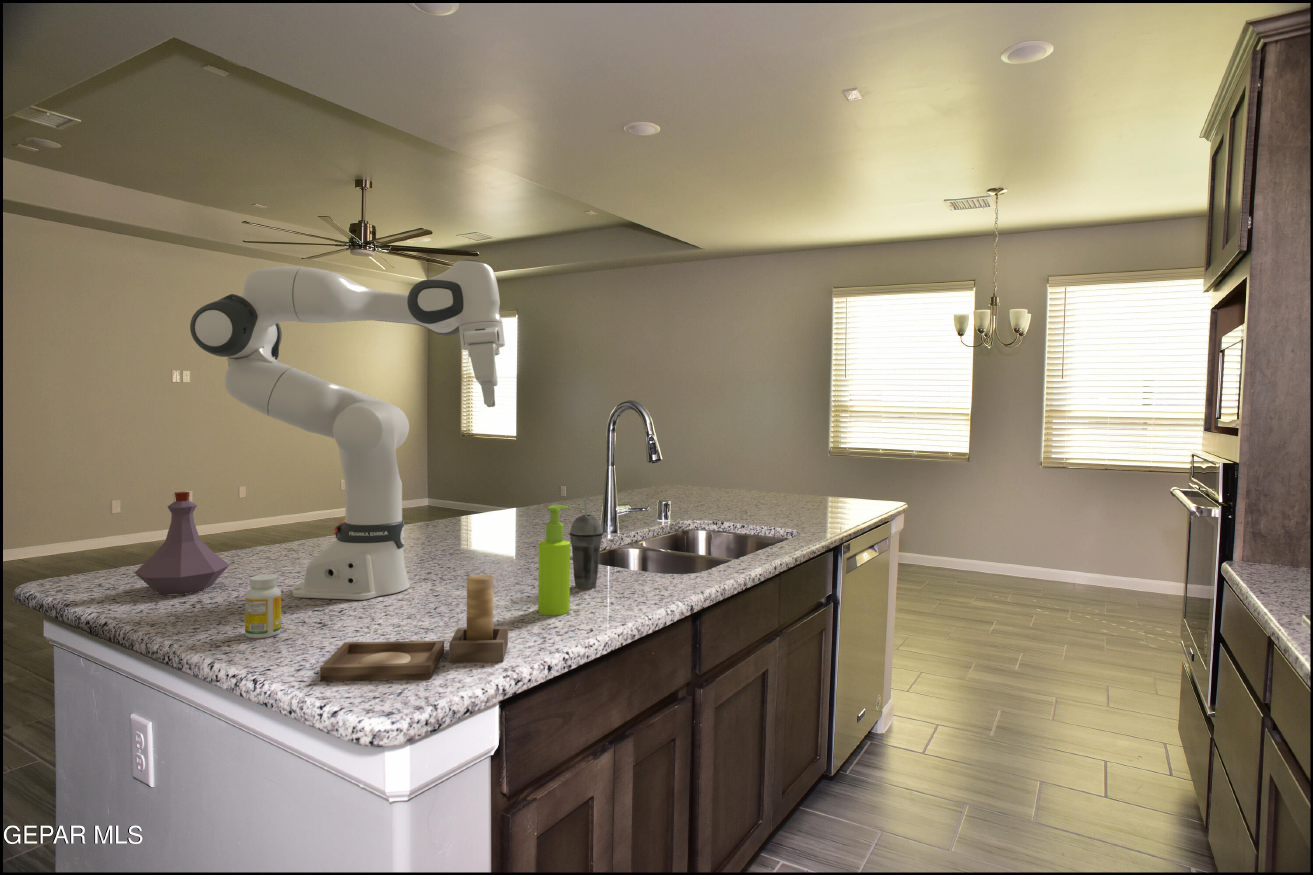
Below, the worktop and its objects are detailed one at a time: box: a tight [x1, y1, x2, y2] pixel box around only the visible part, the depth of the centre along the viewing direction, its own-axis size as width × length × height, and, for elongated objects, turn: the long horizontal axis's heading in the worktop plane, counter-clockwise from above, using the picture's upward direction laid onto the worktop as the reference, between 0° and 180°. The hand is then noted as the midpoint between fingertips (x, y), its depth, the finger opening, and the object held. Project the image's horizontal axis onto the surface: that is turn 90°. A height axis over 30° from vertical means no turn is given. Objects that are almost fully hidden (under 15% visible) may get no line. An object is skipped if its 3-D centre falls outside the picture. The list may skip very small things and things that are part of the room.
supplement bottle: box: [244, 574, 282, 639], centre depth 124 cm, size 5×5×10 cm
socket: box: [448, 626, 509, 664], centre depth 116 cm, size 8×8×3 cm
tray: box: [319, 640, 445, 683], centre depth 110 cm, size 15×11×2 cm
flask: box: [134, 491, 230, 595], centre depth 152 cm, size 16×16×20 cm
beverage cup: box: [568, 494, 604, 590], centre depth 159 cm, size 7×7×20 cm
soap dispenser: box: [537, 504, 571, 616], centre depth 141 cm, size 6×7×20 cm
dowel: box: [466, 574, 494, 640], centre depth 116 cm, size 4×4×12 cm
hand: (490, 406), depth 154 cm, fingers open, 8 cm apart
